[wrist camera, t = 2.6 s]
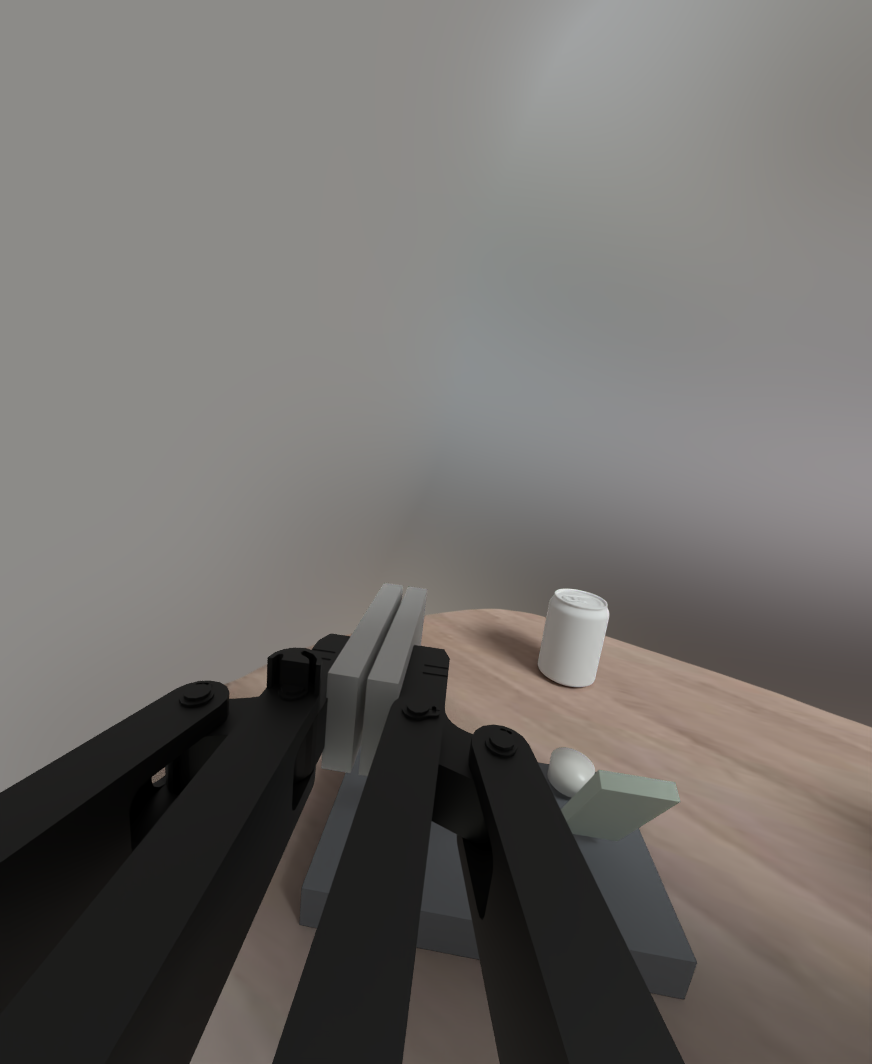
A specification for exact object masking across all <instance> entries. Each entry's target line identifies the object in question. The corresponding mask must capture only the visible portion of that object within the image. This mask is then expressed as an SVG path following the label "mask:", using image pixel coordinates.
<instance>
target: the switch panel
mask: <svg viewBox="0 0 872 1064" xmlns="http://www.w3.org/2000/svg"><path fill="white" fill-rule="evenodd" d="M360 754H361V746H360V749H359V751H358V754H357V757H356V760H355V762H354V765H353V768H352V770H351V773H345V776H344V779H343V781H342V784H341V787H340V789H339V792H338V794H337V797H336V800H335V802H334V805H333V807H332V810H331V813H330V815H329V818H328V820H327V823H326V826H325V828H324V831H323V833H322V836H321V839H320V841H319V844H318V847H317V849H316V852H315V854H314V857H313V860H312V862H311V865H310V867H309V870H308V873H307V875H306V878H305V880H304V883H303V886H302V889H301V906H300V923H299V925H303V926H309V927H314V928H317V927H318V924H319V921H320V918H321V915H322V912H323V909H324V906H325V903H326V900H327V897H328V894H329V891H330V888H331V885H332V882H333V879H334V876H335V873H336V870H337V867H338V864H339V861H340V858H341V855H342V852H343V849H344V846H345V843H346V840H347V837H348V834H349V831H350V828H351V825H352V822H353V819H354V816H355V813H356V810H357V807H358V804H359V801H360V798H361V795H362V792H363V789H364V786H365V782H366V779H367V776H363V775H359V765H360ZM538 764H539V766H540V768H541V770H542V772H543V774H544V776H545V778H546V781H547V783H548V785H549V787H550V789H551V791H552V793H553V795H554V797H555V799H556V801H557V803H558V805H559V807H560V809H562V808H563V807H564V806H565V805H566V804H567V803H568V801H569V800H570V799H571V797H568V796H566V795H564V794H562V793H560V792H559V791H557V790H556V789H555V788H554V787H553V786H552V784H551V783H550V781H549V779H548V769H549V764H544V763H538ZM595 773H596V772H595ZM573 836H574V838H575V840H576V842H577V844H578V846H579V848H580V850H581V852H582V854H583V856H584V858H585V860H586V862H587V865H588V867H589V869H590V871H591V873H592V875H593V877H594V879H595V881H596V883H597V885H598V887H599V889H600V891H601V893H602V895H603V897H604V899H605V901H606V903H607V906H608V908H609V910H610V912H611V914H612V916H613V918H614V920H615V922H616V924H617V926H618V928H619V930H620V932H621V934H622V936H623V938H624V940H625V942H626V944H627V947H628V949H629V951H630V953H631V955H632V957H633V959H634V961H635V963H636V965H637V967H638V969H639V971H640V973H641V975H642V977H643V979H644V981H645V983H646V985H647V988H648V990H649V992H650V993H654V994H660V995H665V996H670V997H675V998H680V999H685V996H686V993H687V990H688V987H689V985H690V982H691V979H692V976H693V973H694V970H695V967H696V964H697V961H696V959H695V957H694V954H693V952H692V950H691V947H690V945H689V943H688V941H687V938H686V936H685V934H684V931H683V929H682V927H681V924H680V922H679V920H678V918H677V915H676V913H675V911H674V908H673V906H672V904H671V902H670V899H669V897H668V895H667V892H666V890H665V888H664V885H663V883H662V881H661V879H660V876H659V874H658V872H657V869H656V867H655V865H654V862H653V860H652V858H651V856H650V853H649V851H648V849H647V846H646V844H645V842H644V840H643V837H642V835H641V833H640V830H639V828H638V829H636V830H635V831H633V832H631V833H630V834H628V835H627V836H625V837H623V838H622V839H620V840H619V841H612V840H606V839H600V838H594V837H589V836H583V835H577V834H573ZM416 947H417V948H422V949H427V950H432V951H438V952H443V953H448V954H453V955H458V956H463V957H469V958H474V959H479V954H478V949H477V944H476V938H475V933H474V928H473V923H472V918H471V913H470V908H469V903H468V897H467V892H466V887H465V882H464V877H463V872H462V867H461V861H460V856H459V851H458V846H457V834H455V833H453V832H451V831H449V830H447V829H446V828H444V827H442V826H440V825H438V824H436V823H434V822H431V830H430V839H429V847H428V855H427V863H426V871H425V880H424V888H423V896H422V904H421V912H420V921H419V929H418V937H417V945H416ZM479 960H480V959H479Z"/></svg>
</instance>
